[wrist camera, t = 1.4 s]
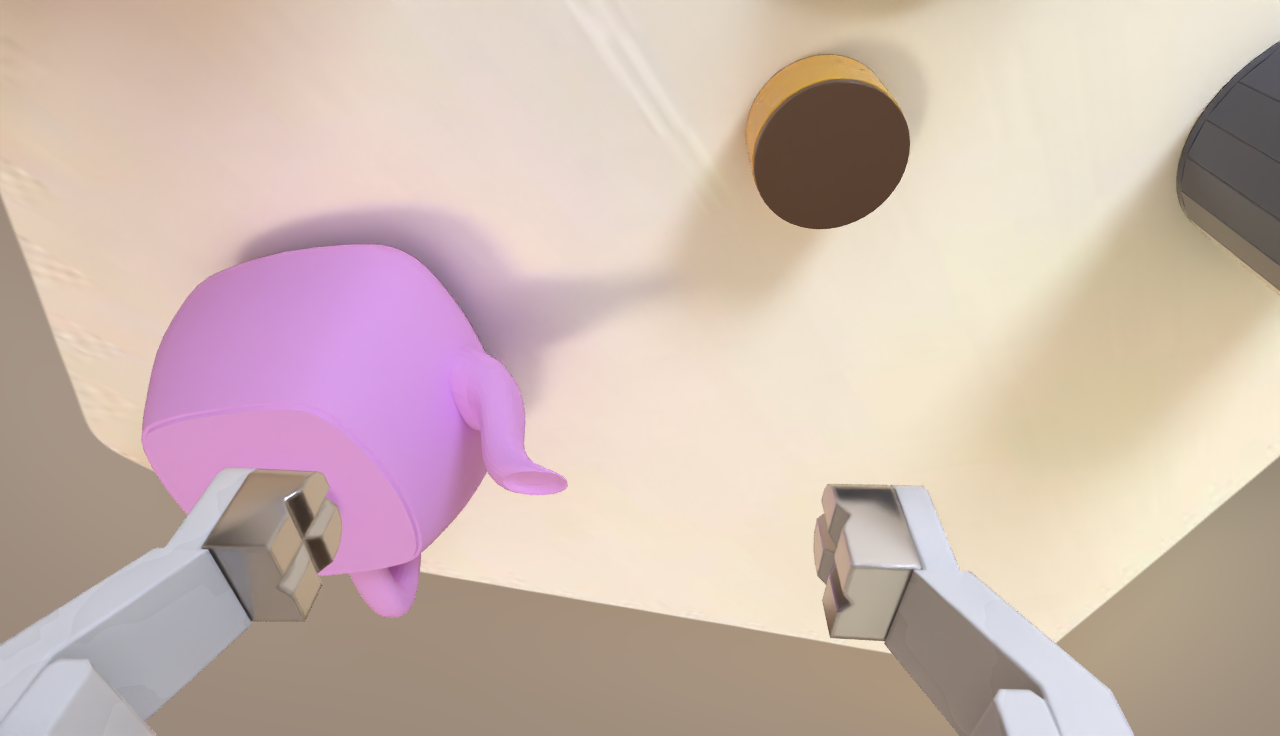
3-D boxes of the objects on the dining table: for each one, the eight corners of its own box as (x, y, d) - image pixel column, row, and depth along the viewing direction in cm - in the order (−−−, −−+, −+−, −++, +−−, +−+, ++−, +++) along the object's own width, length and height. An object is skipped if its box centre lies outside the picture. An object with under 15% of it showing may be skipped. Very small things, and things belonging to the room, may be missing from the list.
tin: (753, 52, 32) (762, 79, 29) (904, 54, 32) (929, 81, 29) (739, 193, 37) (745, 229, 34) (872, 195, 37) (891, 231, 34)
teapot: (345, 489, 53) (254, 683, 41) (174, 249, 40) (-29, 433, 28) (637, 451, 49) (628, 653, 38) (553, 176, 36) (499, 352, 25)
